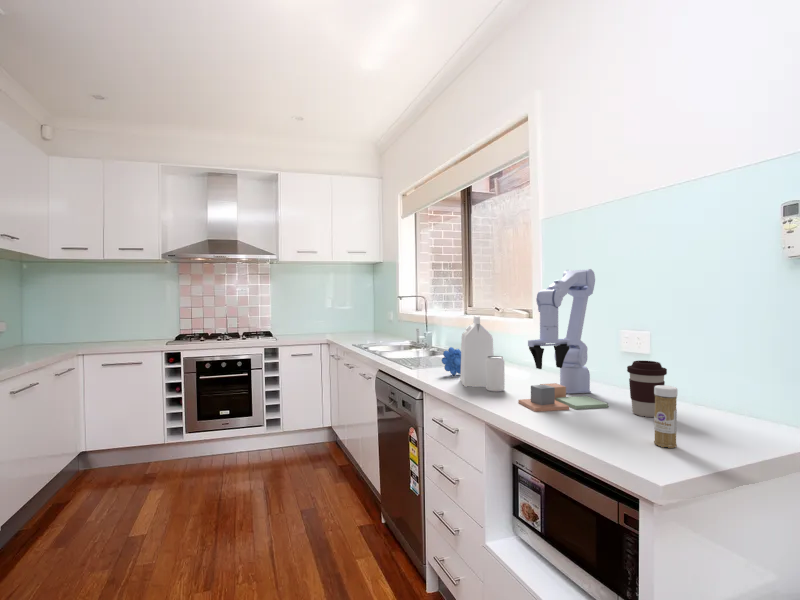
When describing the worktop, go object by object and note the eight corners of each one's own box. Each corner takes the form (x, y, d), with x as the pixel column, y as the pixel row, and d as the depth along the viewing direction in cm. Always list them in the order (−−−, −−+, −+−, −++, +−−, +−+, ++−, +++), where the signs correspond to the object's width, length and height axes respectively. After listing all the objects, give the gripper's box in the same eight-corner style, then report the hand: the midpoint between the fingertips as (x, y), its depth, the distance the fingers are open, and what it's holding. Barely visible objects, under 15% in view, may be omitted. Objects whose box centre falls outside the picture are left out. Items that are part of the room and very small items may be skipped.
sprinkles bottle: (652, 446, 103) (652, 387, 103) (656, 440, 106) (656, 383, 106) (675, 450, 100) (675, 389, 100) (678, 445, 104) (679, 386, 103)
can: (504, 392, 160) (504, 358, 159) (486, 391, 161) (485, 357, 161) (504, 388, 166) (504, 355, 166) (486, 387, 167) (486, 355, 167)
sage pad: (586, 398, 149) (586, 395, 149) (608, 407, 138) (608, 403, 138) (555, 400, 147) (555, 397, 147) (575, 409, 136) (575, 405, 136)
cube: (543, 400, 143) (543, 384, 143) (554, 403, 139) (554, 387, 138) (530, 401, 141) (530, 385, 141) (541, 405, 137) (541, 388, 137)
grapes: (446, 377, 187) (446, 348, 187) (439, 375, 194) (439, 347, 193) (471, 375, 192) (471, 347, 192) (462, 373, 198) (462, 345, 198)
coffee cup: (670, 414, 130) (670, 361, 130) (661, 421, 123) (661, 365, 122) (633, 408, 137) (633, 358, 136) (622, 414, 129) (622, 362, 129)
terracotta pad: (550, 401, 146) (550, 397, 146) (569, 409, 135) (569, 406, 135) (518, 402, 144) (518, 399, 144) (535, 411, 133) (535, 408, 133)
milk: (495, 386, 170) (494, 317, 169) (464, 386, 170) (463, 317, 169) (489, 380, 182) (488, 315, 181) (460, 380, 182) (460, 315, 181)
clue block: (556, 394, 155) (556, 383, 155) (565, 398, 149) (565, 386, 149) (540, 395, 154) (539, 384, 154) (549, 399, 148) (549, 387, 148)
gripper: (560, 324, 153) (560, 365, 154) (522, 326, 149) (522, 367, 149) (574, 326, 147) (574, 368, 147) (535, 327, 142) (535, 370, 143)
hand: (549, 368), depth 148 cm, fingers open, 7 cm apart
